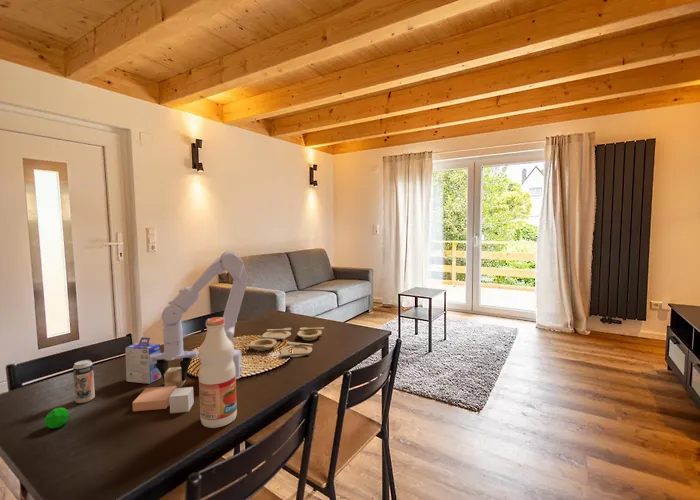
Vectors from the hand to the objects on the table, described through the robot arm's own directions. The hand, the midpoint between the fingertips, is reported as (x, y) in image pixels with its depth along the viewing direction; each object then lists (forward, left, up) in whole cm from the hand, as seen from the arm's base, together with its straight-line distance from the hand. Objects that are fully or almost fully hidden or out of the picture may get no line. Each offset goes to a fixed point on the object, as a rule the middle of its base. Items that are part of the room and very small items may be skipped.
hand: (175, 380), depth 114 cm
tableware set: (-36, -34, -2) cm, 50 cm away
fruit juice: (-19, +24, -2) cm, 31 cm away
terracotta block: (+2, +11, -2) cm, 11 cm away
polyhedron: (+23, +20, -2) cm, 31 cm away
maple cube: (0, 0, -1) cm, 1 cm away
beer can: (+24, +6, -2) cm, 25 cm away
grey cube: (-7, +16, -2) cm, 18 cm away
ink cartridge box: (+12, -6, -2) cm, 14 cm away
